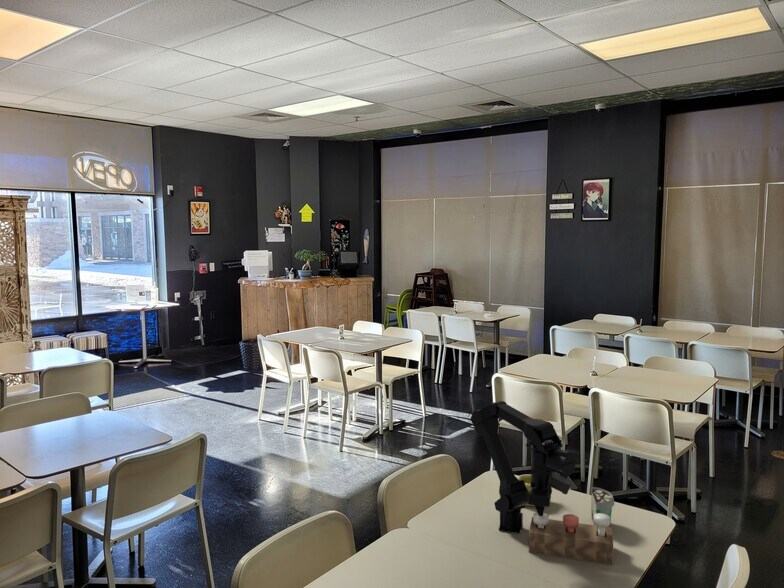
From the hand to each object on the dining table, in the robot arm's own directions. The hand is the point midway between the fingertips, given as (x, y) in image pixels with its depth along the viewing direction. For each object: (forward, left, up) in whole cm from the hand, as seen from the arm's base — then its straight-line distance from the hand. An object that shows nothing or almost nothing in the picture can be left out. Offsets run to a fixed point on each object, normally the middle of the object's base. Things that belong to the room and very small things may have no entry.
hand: (540, 515), depth 173 cm
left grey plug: (0, 0, -8) cm, 8 cm away
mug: (-5, +29, -10) cm, 31 cm away
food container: (+18, +18, -9) cm, 27 cm away
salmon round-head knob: (+9, 0, -7) cm, 11 cm away
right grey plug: (+17, 0, -6) cm, 18 cm away
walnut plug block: (+9, 0, -9) cm, 13 cm away
